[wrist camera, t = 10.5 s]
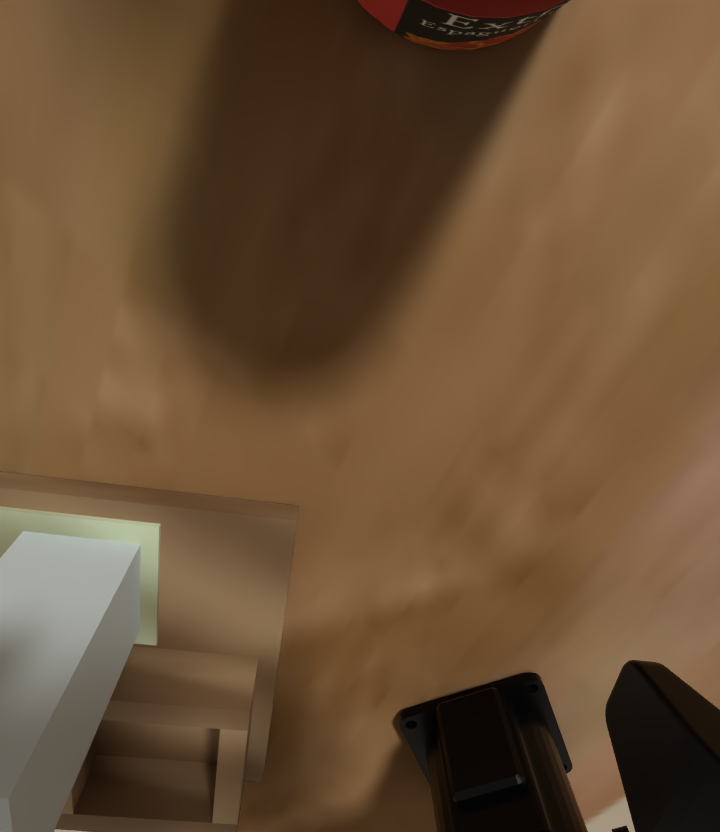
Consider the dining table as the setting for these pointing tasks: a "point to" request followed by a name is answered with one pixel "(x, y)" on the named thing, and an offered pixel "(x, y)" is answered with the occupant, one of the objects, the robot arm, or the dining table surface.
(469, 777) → the robot arm
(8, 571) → the block
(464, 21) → the canned food
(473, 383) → the dining table surface
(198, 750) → the brown slotted holder
